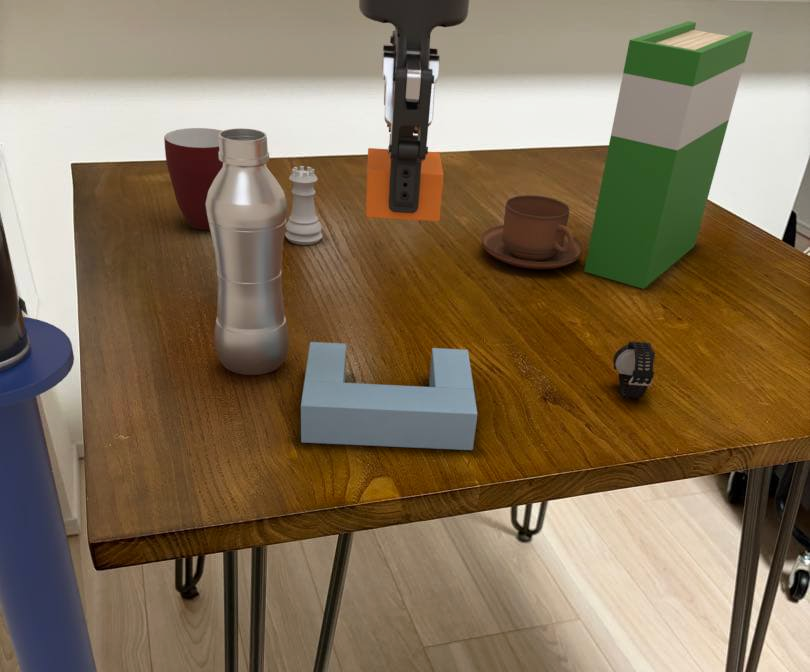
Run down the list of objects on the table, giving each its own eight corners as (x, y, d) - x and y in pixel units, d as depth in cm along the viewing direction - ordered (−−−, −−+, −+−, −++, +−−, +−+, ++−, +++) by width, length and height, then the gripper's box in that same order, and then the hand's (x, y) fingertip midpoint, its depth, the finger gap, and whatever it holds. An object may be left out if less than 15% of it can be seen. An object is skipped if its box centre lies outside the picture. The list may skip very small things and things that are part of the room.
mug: (179, 205, 113) (171, 120, 107) (243, 207, 114) (239, 123, 108) (168, 236, 105) (159, 146, 99) (238, 238, 106) (233, 149, 100)
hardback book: (639, 231, 117) (688, 21, 101) (694, 246, 114) (752, 31, 99) (584, 271, 105) (629, 40, 90) (643, 288, 102) (701, 52, 87)
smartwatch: (654, 388, 84) (667, 339, 80) (643, 413, 80) (656, 363, 77) (611, 377, 85) (622, 328, 82) (598, 401, 81) (609, 351, 78)
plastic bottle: (209, 354, 83) (190, 124, 71) (280, 346, 85) (274, 121, 73) (224, 388, 78) (206, 148, 66) (299, 378, 81) (296, 144, 68)
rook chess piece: (283, 245, 105) (282, 174, 100) (286, 231, 109) (284, 162, 104) (321, 246, 105) (322, 176, 100) (323, 233, 109) (323, 164, 104)
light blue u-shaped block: (301, 442, 73) (300, 405, 70) (310, 376, 81) (310, 341, 79) (472, 450, 73) (477, 413, 71) (463, 384, 82) (468, 349, 80)
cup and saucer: (596, 256, 108) (606, 205, 105) (552, 287, 100) (562, 233, 97) (509, 232, 113) (516, 181, 109) (461, 259, 105) (466, 206, 101)
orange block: (365, 217, 68) (367, 169, 66) (366, 193, 72) (368, 147, 70) (439, 221, 68) (443, 174, 66) (435, 197, 72) (439, 152, 70)
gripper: (362, -78, 64) (355, 166, 75) (359, -55, 53) (351, 228, 64) (466, -70, 65) (444, 171, 75) (484, -46, 54) (456, 233, 64)
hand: (402, 196), depth 70 cm, fingers closed on orange block, 5 cm apart
